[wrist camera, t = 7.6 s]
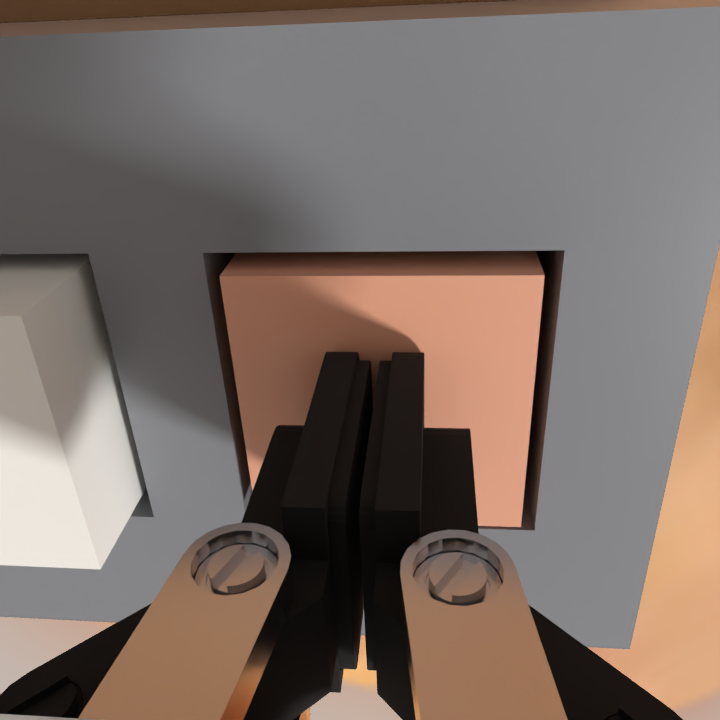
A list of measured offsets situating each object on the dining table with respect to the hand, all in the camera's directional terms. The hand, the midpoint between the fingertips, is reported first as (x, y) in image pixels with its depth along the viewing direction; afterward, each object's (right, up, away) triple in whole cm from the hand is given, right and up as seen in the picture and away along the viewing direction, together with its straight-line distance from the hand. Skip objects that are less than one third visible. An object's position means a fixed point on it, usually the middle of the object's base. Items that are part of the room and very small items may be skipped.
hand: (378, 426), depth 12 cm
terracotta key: (0, +2, +3) cm, 3 cm away
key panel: (-7, +3, +5) cm, 9 cm away
